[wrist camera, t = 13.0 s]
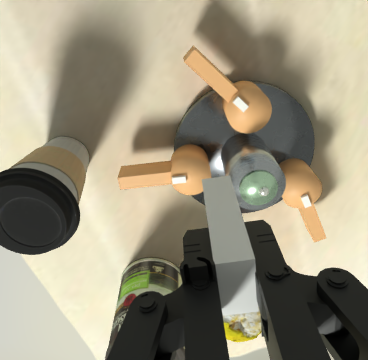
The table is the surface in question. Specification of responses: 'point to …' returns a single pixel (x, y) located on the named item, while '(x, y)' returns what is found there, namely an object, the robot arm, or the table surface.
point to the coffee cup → (43, 197)
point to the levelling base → (274, 132)
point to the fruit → (242, 326)
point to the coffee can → (144, 289)
